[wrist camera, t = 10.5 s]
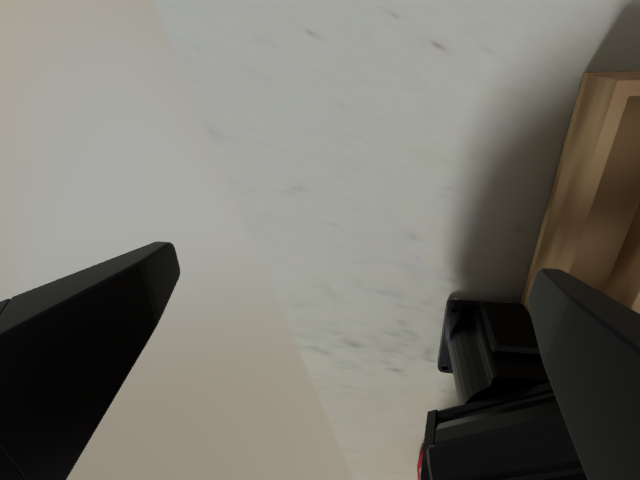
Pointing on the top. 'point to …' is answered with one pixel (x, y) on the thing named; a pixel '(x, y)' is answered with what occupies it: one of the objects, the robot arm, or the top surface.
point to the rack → (597, 192)
